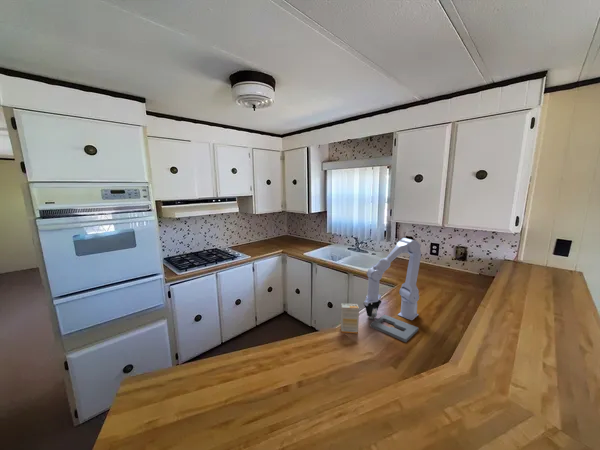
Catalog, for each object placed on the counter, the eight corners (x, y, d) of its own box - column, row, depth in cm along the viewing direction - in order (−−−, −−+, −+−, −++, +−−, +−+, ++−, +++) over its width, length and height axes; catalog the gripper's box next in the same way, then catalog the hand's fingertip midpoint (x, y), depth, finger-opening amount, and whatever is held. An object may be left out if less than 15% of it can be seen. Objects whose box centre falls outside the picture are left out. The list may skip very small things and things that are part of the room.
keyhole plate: (384, 317, 130) (384, 314, 129) (418, 330, 117) (418, 327, 116) (370, 326, 119) (370, 323, 119) (405, 342, 106) (405, 339, 106)
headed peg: (369, 314, 132) (370, 304, 131) (378, 318, 128) (379, 308, 127) (365, 317, 128) (365, 307, 128) (373, 321, 124) (374, 310, 124)
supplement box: (356, 328, 117) (357, 303, 116) (358, 334, 112) (359, 308, 111) (340, 327, 118) (341, 302, 117) (340, 332, 113) (341, 307, 112)
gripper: (373, 285, 134) (372, 307, 136) (359, 291, 124) (358, 315, 126) (385, 288, 129) (383, 312, 131) (371, 295, 119) (370, 320, 121)
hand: (371, 314), depth 128 cm, fingers closed on headed peg, 5 cm apart
